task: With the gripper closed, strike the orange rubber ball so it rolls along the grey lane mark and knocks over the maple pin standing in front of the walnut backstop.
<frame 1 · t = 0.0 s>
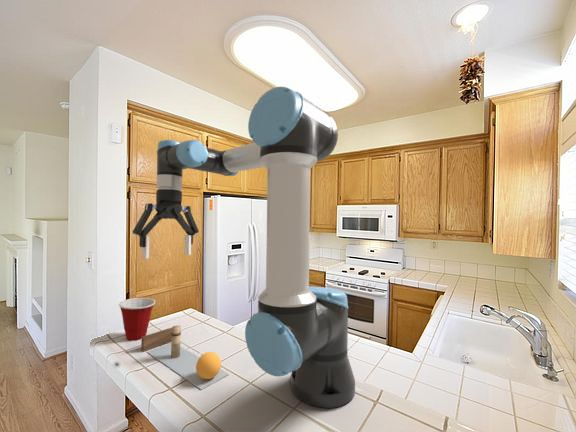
hand: (167, 256, 83), 28 cm above the counter, tool pointing down, fingers open, 13 cm apart
backstop: (157, 345, 82), on the counter
ball: (208, 365, 65), on the counter
pin: (175, 356, 75), on the counter
plastic cup: (136, 337, 88), on the counter
lane mark: (184, 362, 72), on the counter
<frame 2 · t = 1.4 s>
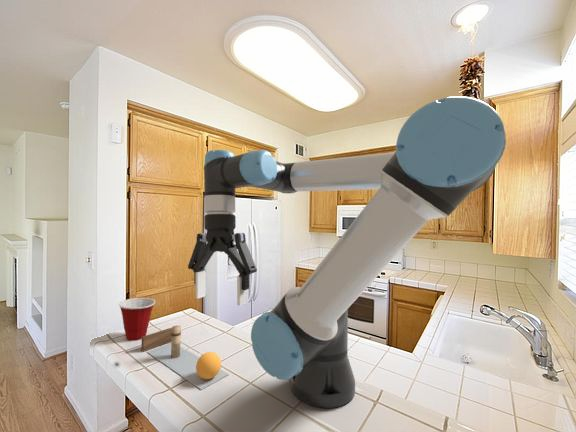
hand: (220, 300, 64), 20 cm above the counter, tool pointing down, fingers open, 13 cm apart
nothing on the counter moved.
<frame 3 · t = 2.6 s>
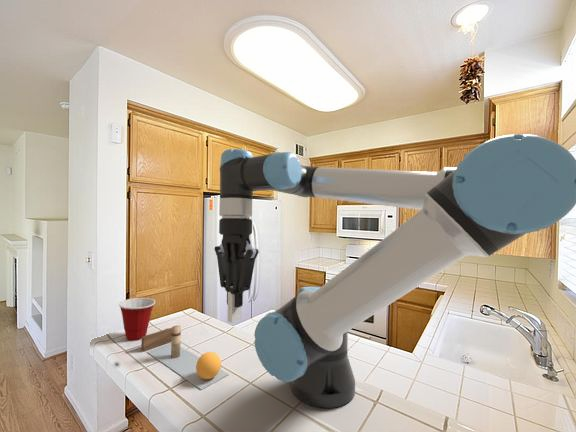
hand: (234, 320, 60), 16 cm above the counter, tool pointing down, fingers closed
nothing on the counter moved.
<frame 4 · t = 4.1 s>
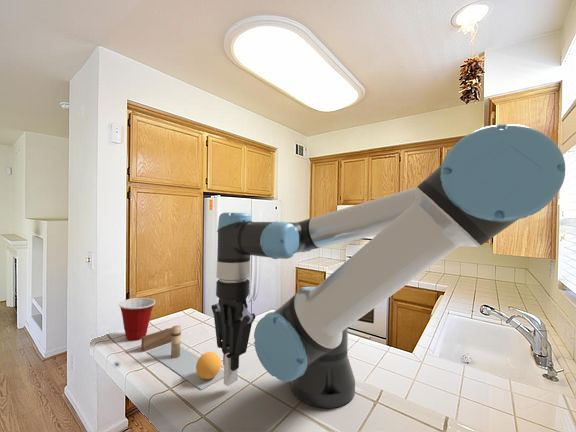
hand: (230, 382, 60), 2 cm above the counter, tool pointing down, fingers closed
nothing on the counter moved.
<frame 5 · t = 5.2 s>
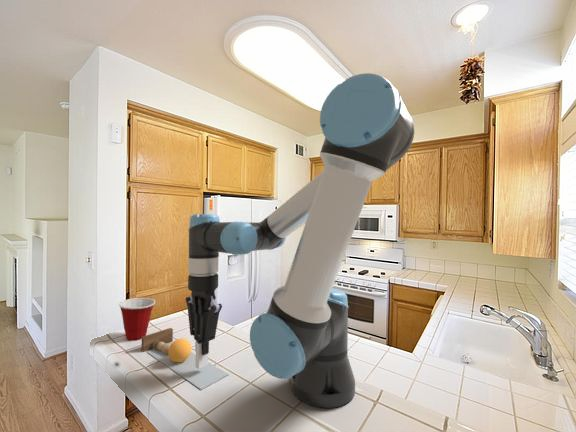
hand: (201, 365, 67), 2 cm above the counter, tool pointing down, fingers closed
ball: (180, 350, 73), on the counter
pin: (172, 351, 76), point 1 cm above the counter, tilted 90°
everything else where it was.
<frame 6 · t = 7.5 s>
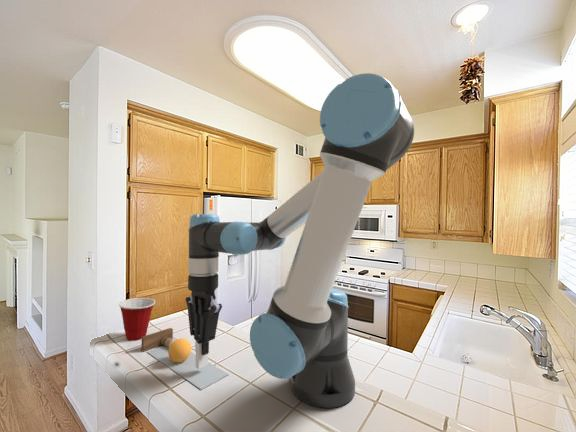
hand: (201, 365, 67), 2 cm above the counter, tool pointing down, fingers closed
pin: (180, 347, 78), point 1 cm above the counter, tilted 90°, touching backstop
everything else where it was.
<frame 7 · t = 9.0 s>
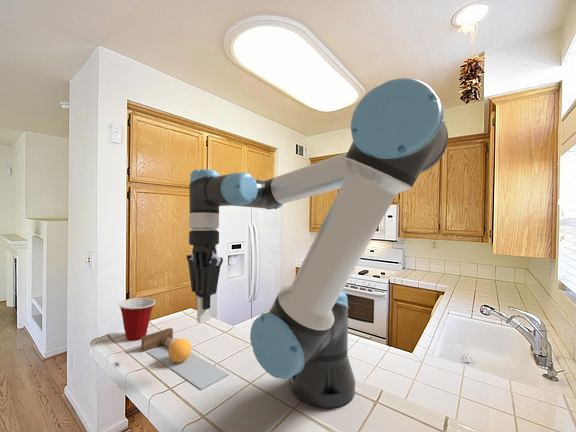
hand: (203, 321, 67), 13 cm above the counter, tool pointing down, fingers closed
nothing on the counter moved.
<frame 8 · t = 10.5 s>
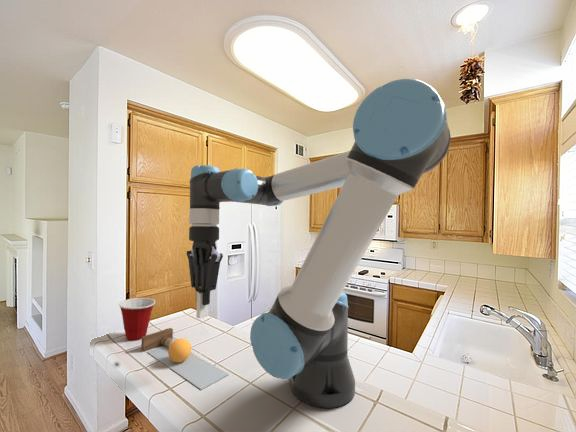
hand: (202, 316, 68), 14 cm above the counter, tool pointing down, fingers closed
nothing on the counter moved.
at the end: pin tilted 90°; pin never touched the robot; ball moved 12.9 cm from its start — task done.
